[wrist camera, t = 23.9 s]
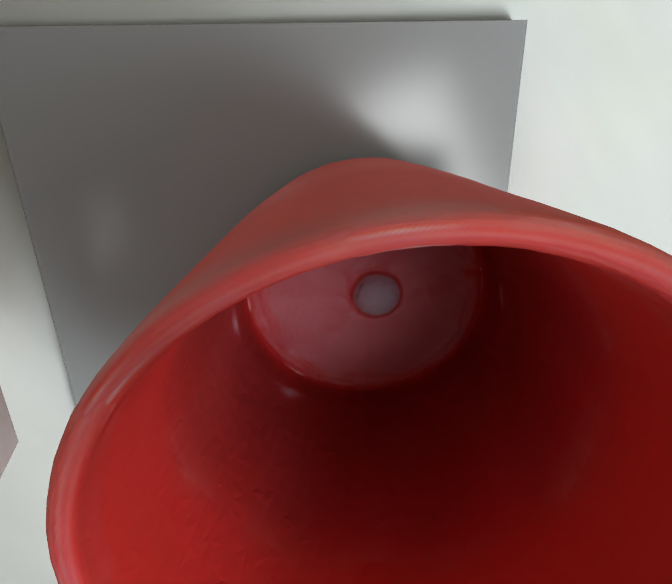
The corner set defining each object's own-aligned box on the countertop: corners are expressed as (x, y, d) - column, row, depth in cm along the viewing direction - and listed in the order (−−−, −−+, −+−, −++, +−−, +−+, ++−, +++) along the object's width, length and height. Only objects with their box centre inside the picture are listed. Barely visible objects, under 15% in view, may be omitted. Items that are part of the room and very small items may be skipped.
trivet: (100, 465, 19) (95, 482, 19) (-12, 27, 13) (-25, 26, 13) (471, 414, 22) (479, 426, 21) (513, 20, 16) (527, 20, 15)
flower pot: (608, 294, 17) (908, 579, 8) (341, 468, 20) (357, 812, 11) (406, 2, 13) (569, -33, 5) (114, 269, 16) (-124, 556, 8)
